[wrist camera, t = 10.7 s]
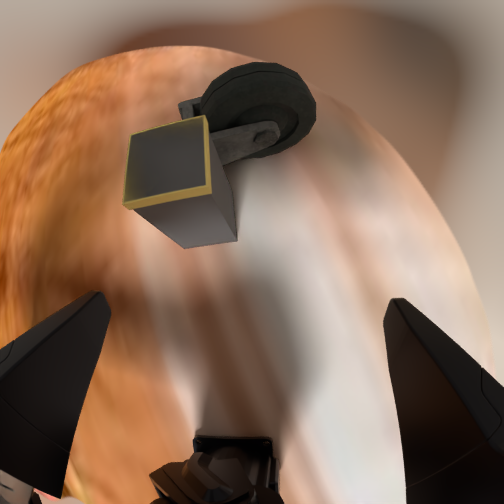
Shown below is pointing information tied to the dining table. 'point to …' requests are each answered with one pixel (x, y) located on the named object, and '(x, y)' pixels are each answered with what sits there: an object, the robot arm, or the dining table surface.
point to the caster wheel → (254, 110)
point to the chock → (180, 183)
